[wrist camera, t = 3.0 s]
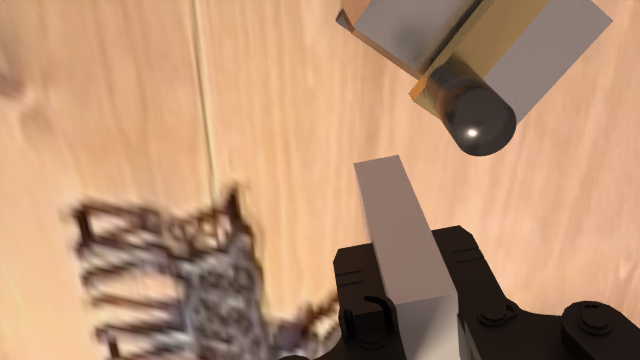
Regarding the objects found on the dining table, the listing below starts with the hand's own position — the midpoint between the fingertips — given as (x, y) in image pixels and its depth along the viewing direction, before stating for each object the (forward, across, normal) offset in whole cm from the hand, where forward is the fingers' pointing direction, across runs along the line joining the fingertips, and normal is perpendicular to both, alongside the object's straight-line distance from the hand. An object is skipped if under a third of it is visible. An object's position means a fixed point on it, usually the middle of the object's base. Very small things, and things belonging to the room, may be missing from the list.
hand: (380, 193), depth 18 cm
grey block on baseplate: (+14, +7, +2) cm, 16 cm away
